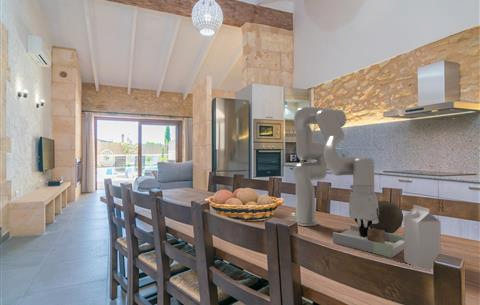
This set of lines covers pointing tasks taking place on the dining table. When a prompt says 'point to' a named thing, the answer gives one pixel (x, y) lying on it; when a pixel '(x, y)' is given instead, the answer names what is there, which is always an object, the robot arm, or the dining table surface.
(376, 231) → the walnut block
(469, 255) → the dining table surface
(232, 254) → the dining table surface
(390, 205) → the brown coconut
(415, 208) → the milk carton
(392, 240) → the lane box
